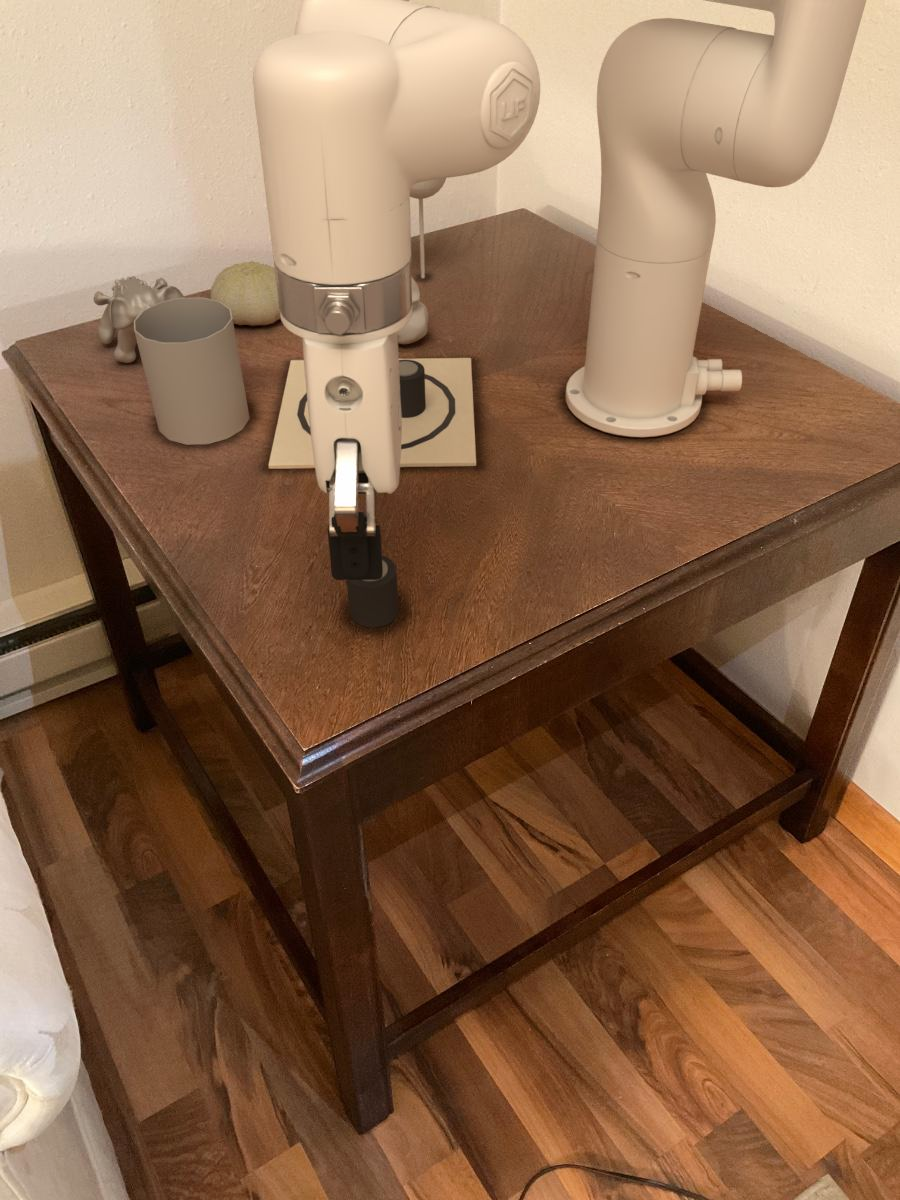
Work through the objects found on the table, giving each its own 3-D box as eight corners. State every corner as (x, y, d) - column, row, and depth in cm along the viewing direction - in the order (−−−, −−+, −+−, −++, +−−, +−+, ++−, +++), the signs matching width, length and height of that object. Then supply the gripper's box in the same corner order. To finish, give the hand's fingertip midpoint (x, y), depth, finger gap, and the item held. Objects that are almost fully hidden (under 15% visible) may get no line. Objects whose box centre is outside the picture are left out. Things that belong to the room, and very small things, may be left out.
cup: (229, 449, 88) (210, 347, 81) (143, 439, 89) (116, 338, 82) (261, 399, 94) (245, 301, 87) (180, 391, 95) (158, 293, 88)
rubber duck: (401, 358, 99) (398, 282, 94) (362, 334, 103) (356, 260, 97) (442, 340, 102) (441, 266, 96) (402, 318, 105) (399, 245, 100)
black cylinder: (425, 397, 93) (424, 357, 90) (425, 418, 90) (424, 378, 88) (387, 397, 93) (385, 358, 90) (386, 418, 91) (383, 378, 88)
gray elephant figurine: (156, 321, 106) (140, 251, 100) (231, 356, 100) (218, 284, 95) (83, 354, 100) (62, 283, 95) (158, 394, 95) (140, 320, 90)
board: (470, 361, 99) (471, 356, 98) (476, 466, 86) (476, 461, 85) (291, 363, 99) (290, 359, 98) (268, 469, 86) (268, 464, 85)
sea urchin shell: (270, 265, 111) (286, 233, 103) (297, 331, 111) (315, 304, 104) (193, 285, 107) (203, 254, 100) (221, 353, 107) (233, 327, 100)
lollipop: (458, 271, 114) (457, 134, 103) (436, 293, 110) (434, 153, 99) (409, 262, 115) (404, 127, 105) (387, 283, 112) (379, 144, 101)
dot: (399, 593, 74) (397, 551, 71) (398, 627, 71) (395, 585, 68) (351, 594, 74) (346, 552, 71) (348, 628, 71) (343, 585, 68)
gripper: (408, 365, 49) (415, 617, 60) (414, 228, 62) (419, 457, 73) (257, 365, 49) (292, 617, 60) (294, 228, 62) (318, 457, 73)
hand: (362, 529), depth 67 cm, fingers open, 9 cm apart
